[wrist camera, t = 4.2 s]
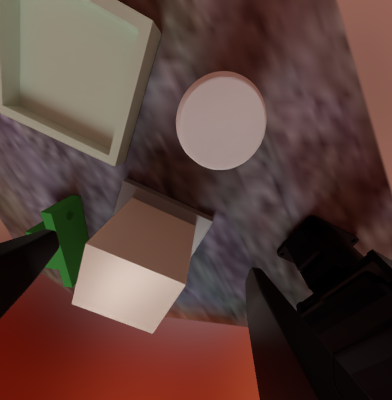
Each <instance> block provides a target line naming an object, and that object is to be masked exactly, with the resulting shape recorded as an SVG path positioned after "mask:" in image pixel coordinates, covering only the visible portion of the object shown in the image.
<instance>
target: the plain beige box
mask: <svg viewBox="0 0 392 400" xmlns="http://www.w3.org/2000/svg"><path fill="white" fill-rule="evenodd" d="M212 223H213V217H211V216H209V215H207V214H205V213H202V212H200V211H198V210H196V209H194V208H192V207H189V206H187V205H185V204H183V203H181V202H179V201H177V200H174V199H172V198H170V197H168V196H166V195H164V194H161V193H159V192H157V191H155V190H153V189H151V188H149V187H146V186H144V185H142V184H140V183H138V182H136V181H133V180H131V179H129V178H126V179H125V180H123V182H122V186H121V189H120V193H119V196H118V199H117V203H116V206H115V210H114V213H113V216H112V218H111V219H110V220H109V221H108V222H107V223H106V224H105V225H104V226H103V227H102V228H101V229H100V230H99V231H98V232H97V233H96V234H95V235H94V236H93V237H92V238H91V239H90V240H89V241H88V242H87V243H86V244H85V248H84V253H83V257H82V261H81V266H80V270H79V275H78V279H77V283H76V288H75V292H74V297H73V301H72V304H73V305H76V306H79V307H81V308H85V309H87V310H90V311H92V312H95V313H98V314H101V315H103V316H106V317H108V318H111V319H114V320H117V321H119V322H122V323H125V324H127V325H130V326H133V327H136V328H138V329H141V330H144V331H146V332H149V333H153V332H154V331H155V330H156V328H157V326H158V325H159V324H160V322H161V321H162V319H163V318H164V316H165V315H166V313H167V312H168V310H169V309H170V307H171V306H172V304H173V303H174V302H175V300H176V299H177V297H178V296H179V294H180V293H181V291H182V290H183V288H184V287H185V285H186V281H187V275H188V269H189V264H190V258H191V256H192V255H193V253H194V252H195V250H196V248H197V247H198V245H199V244H200V242H201V240H202V239H203V237H204V236H205V234H206V233H207V231H208V229H209V228H210V226H211V225H212Z"/></svg>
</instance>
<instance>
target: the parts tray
mask: <svg viewBox="0 0 392 400" xmlns="http://www.w3.org/2000/svg"><path fill="white" fill-rule="evenodd" d="M160 38H161V32H160V31H159V29H158V28H157V26H156V25H155V23H154V21H153V20H151V19H149V18H147V17H146V16H144V15H142V14H141V13H139V12H137V11H135V10H134V9H132V8H130V7H128V6H127V5H125V4H123V3H121V2H120V1H118V0H0V113H1V114H3V115H5V116H8V117H10V118H12V119H14V120H16V121H18V122H20V123H23V124H25V125H27V126H29V127H31V128H33V129H35V130H37V131H40V132H42V133H44V134H46V135H48V136H50V137H52V138H55V139H57V140H59V141H61V142H63V143H65V144H67V145H70V146H72V147H74V148H76V149H78V150H80V151H82V152H85V153H87V154H89V155H91V156H93V157H95V158H97V159H99V160H102V161H104V162H106V163H108V164H110V165H112V166H114V167H115V166H117V165H119V164H121V163H123V162H125V161H126V157H127V154H128V150H129V147H130V143H131V140H132V136H133V133H134V129H135V125H136V122H137V118H138V115H139V111H140V108H141V104H142V101H143V97H144V94H145V90H146V87H147V83H148V80H149V76H150V73H151V69H152V66H153V62H154V59H155V55H156V52H157V48H158V45H159V41H160Z"/></svg>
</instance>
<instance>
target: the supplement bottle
mask: <svg viewBox="0 0 392 400" xmlns="http://www.w3.org/2000/svg"><path fill="white" fill-rule="evenodd" d="M266 122H267V114H266V107H265V103H264V100H263V97H262V95H261V93H260V92H259V90H258V88H257V87H256V86H255V85H254V84H253V83H252V82H251V81H250V80H249V79H247V78H246V77H244V76H242V75H240V74H238V73H235V72H230V71H218V72H213V73H209V74H207V75H205V76H203V77H201V78H200V79H198V80H197V81H195V82H194V83H193V84H192V85H191V86H190V87H189V88H188V90H187V91H186V92H185V94H184V96H183V97H182V99H181V101H180V104H179V107H178V110H177V116H176V130H177V136H178V139H179V141H180V144H181V146H182V148H183V149H184V151H185V152H186V153H187V155H188V156H189V157H190V158H191V159H193V160H194V161H195V162H197V163H198V164H200V165H201V166H203V167H206V168H209V169H213V170H226V169H231V168H234V167H237V166H239V165H241V164H242V163H244V162H246V161H247V160H248V159H249V158H250V157H251V156H252V155H253V154H254V153H255V152H256V151H257V149H258V148H259V146H260V144H261V142H262V140H263V137H264V134H265V130H266Z"/></svg>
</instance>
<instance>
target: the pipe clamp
mask: <svg viewBox="0 0 392 400" xmlns="http://www.w3.org/2000/svg"><path fill="white" fill-rule="evenodd" d="M41 215H42V218H43V221H42V222H41V223H39V224H38V225H36V226H34V227H33V228H31V229H29V230H28V231H26V235H28V234H31V233H34V232H38V231H41V230H44V229H49V230H54V231H56V232H57V235H58V239H59V243H60V247H59V249H58V251H57V252H56V253H55V255H54V256H53V257H52V259H51V260H50V261H49V263H48V264H47V265H46V266H45V267H46V268H52V269H58V270H59V272H60V275H61V278H62V281H63V284H64V286H66V287H72V288H73V286H74V285H75V284H76V283H77V279H78V275H79V270H80V266H81V261H82V257H83V253H84V248H85V244H86V243H87V242H88V241H89V238H88V233H87V227H86V222H85V217H84V212H83V207H82V201H81V196H76V195H71V196H69V197H67V198H65V199H63V200H62V201H60V202H58V203H56V204H54V205H53V206H51V207H49V208H47V209H45V210H43V211H42V212H41Z"/></svg>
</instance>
